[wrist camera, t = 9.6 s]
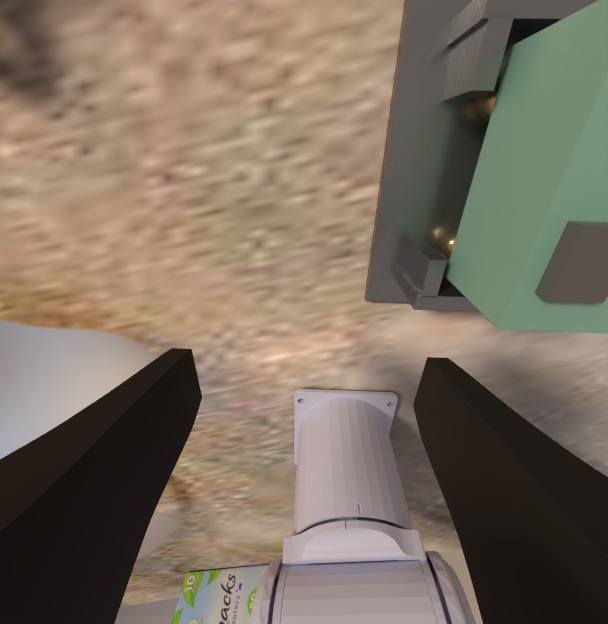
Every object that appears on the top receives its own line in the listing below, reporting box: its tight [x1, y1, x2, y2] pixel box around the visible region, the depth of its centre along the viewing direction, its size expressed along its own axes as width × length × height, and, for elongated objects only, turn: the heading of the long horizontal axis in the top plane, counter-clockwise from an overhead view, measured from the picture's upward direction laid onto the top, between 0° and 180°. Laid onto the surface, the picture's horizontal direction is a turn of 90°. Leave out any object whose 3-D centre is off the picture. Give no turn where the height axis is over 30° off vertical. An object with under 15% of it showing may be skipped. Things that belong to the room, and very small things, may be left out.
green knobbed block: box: [445, 0, 608, 333], centre depth 10 cm, size 9×4×6 cm, turn 179°
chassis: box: [365, 0, 598, 312], centre depth 13 cm, size 14×11×4 cm
